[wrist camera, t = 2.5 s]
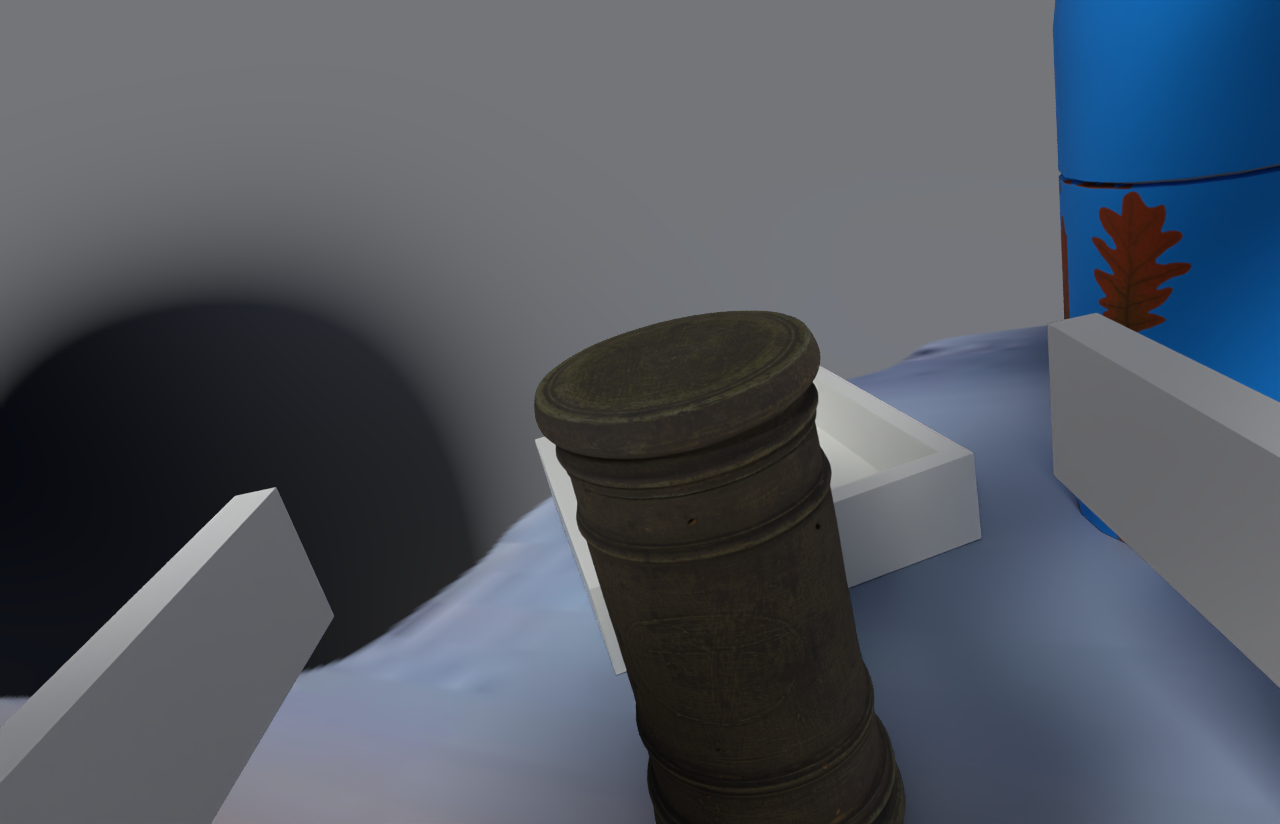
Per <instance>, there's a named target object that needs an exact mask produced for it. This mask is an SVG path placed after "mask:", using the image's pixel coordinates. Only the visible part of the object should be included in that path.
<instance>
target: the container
mask: <svg viewBox="0 0 1280 824" xmlns="http://www.w3.org/2000/svg"><path fill="white" fill-rule="evenodd" d="M819 365H820V350H819V347H818V344H817V342H816V340H815V338H814V337H813V334H812V333H811V332H810V330H809V329H808V328H807V326H806V325H805V324H804V323H803V322H802V321H800V320H799V319H797V318H795V317H792V316H788V315H785V314H781V313H777V312H770V311H728V312H716V313H708V314H701V315H694V316H688V317H683V318H678V319H673V320H669V321H665V322H660V323H656V324H653V325H649V326H646V327H643V328H639V329H636V330H633V331H630V332H627V333H623V334H620V335H618V336H615V337H612V338H610V339H607V340H604V341H602V342H599V343H597V344H595V345H593V346H590V347H588V348H586V349H584V350H583V351H581V352H579V353H577V354H575V355H573V356H572V357H570V358H568V359H567V360H565V361H564V362H562V363H561V364H560V365H558V366H557V367H555V368H554V369H553V370H552V371H550V372H549V373H548V374H547V375H546V376H545V377H544V378H543V380H542V381H541V383H540V384H539V386H538V388H537V390H536V394H535V403H534V406H535V418H536V422H537V424H538V427H539V429H540V430H541V432H542V433H543V435H544V436H545V437H546V438H547V439H548V440H549V441H551V442H552V443H553V444H555V445H556V457H557V459H558V461H559V463H560V464H561V466H562V467H563V468H564V469H565V470H566V472H567V474H568V475H569V477H570V478H571V482H572V486H573V489H574V493H575V496H576V499H577V511H576V521H577V526H578V529H579V531H580V533H581V535H582V536H583V537H584V539H585V540H586V541H587V545H588V548H589V552H590V555H591V558H592V561H593V565H594V568H595V571H596V575H597V578H598V581H599V585H600V588H601V591H602V595H603V598H604V601H605V604H606V607H607V610H608V613H609V617H610V619H611V622H612V626H613V629H614V632H615V635H616V638H617V641H618V645H619V648H620V651H621V655H622V658H623V661H624V664H625V667H626V671H627V674H628V677H629V680H630V683H631V687H632V690H633V693H634V697H635V700H636V722H637V727H638V731H639V735H640V737H641V739H642V742H643V744H644V746H645V747H646V749H647V750H648V754H649V762H648V771H647V783H648V789H649V794H650V797H651V800H652V803H653V806H654V814H655V820H656V824H903V819H904V811H905V794H904V787H903V782H902V778H901V775H900V772H899V769H898V767H897V764H896V762H895V756H894V751H893V748H892V744H891V741H890V738H889V735H888V733H887V731H886V729H885V727H884V725H883V724H882V722H881V720H880V719H879V718H878V716H877V715H876V714H875V712H874V689H873V684H872V681H871V677H870V675H869V672H868V670H867V668H866V666H865V663H864V662H863V660H862V657H861V652H860V648H859V643H858V639H857V634H856V629H855V622H854V617H853V611H852V606H851V600H850V594H849V589H848V583H847V578H846V572H845V567H844V560H843V554H842V548H841V541H840V535H839V530H838V524H837V518H836V513H835V508H834V503H833V497H832V492H831V487H830V483H831V476H832V471H831V466H830V462H829V460H828V458H827V456H826V455H825V453H824V451H823V449H822V448H821V446H820V443H819V437H818V433H817V428H816V423H815V419H816V413H817V410H816V409H817V405H818V391H817V388H816V386H815V384H814V383H813V381H814V379H815V377H816V375H817V373H818V370H819Z"/></svg>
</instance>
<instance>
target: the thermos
mask: <svg viewBox="0 0 1280 824" xmlns="http://www.w3.org/2000/svg"><path fill="white" fill-rule="evenodd" d="M1053 41H1054V42H1053V43H1054V67H1055V93H1056V119H1057V144H1058V169H1059V171H1060V172H1061V175H1060V176H1059V194H1060V220H1061V243H1062V270H1063V295H1064V320H1065V319H1070V318H1075V317H1079V316H1084V315H1089V314H1093V313H1098V314H1100V315H1102V316H1104V317H1106V318H1109V319H1111V320H1113V321H1115V322H1117V323H1119V324H1121V325H1123V326H1125V327H1127V328H1129V329H1131V330H1133V331H1135V332H1137V333H1139V334H1141V335H1143V336H1145V337H1147V338H1149V339H1151V340H1153V341H1155V342H1157V343H1159V344H1162V345H1164V346H1166V347H1168V348H1170V349H1172V350H1174V351H1176V352H1178V353H1180V354H1182V355H1184V356H1186V357H1188V358H1190V359H1192V360H1194V361H1196V362H1198V363H1200V364H1202V365H1204V366H1206V367H1208V368H1210V369H1212V370H1215V371H1217V372H1219V373H1221V374H1223V375H1225V376H1227V377H1229V378H1231V379H1233V380H1235V381H1237V382H1239V383H1241V384H1243V385H1245V386H1247V387H1249V388H1251V389H1253V390H1255V391H1257V392H1259V393H1261V394H1263V395H1265V396H1267V397H1270V398H1272V399H1274V400H1276V401H1278V402H1280V0H1055V11H1054V23H1053ZM1077 501H1078V504H1079V507H1080V510H1081V514H1082V515H1083V516H1085V517H1086V518H1087V519H1088V520H1089V521H1090V522H1091V523H1092V524H1093V525H1095V526H1096V527H1097V528H1098V529H1099V530H1100V531H1101V532H1103V533H1105V534H1107V535H1110V536H1112V537H1114V538H1116V539H1118V540H1120V541H1123V540H1122V539H1121V538H1120V537H1119V536H1118V535H1117V534H1116V533H1115V532H1114V531H1112V530H1111V529H1110V528H1109V527H1108V526H1107V525H1106V524H1105V523H1104V522H1103V521H1102V520H1101V519H1100V518H1099V517H1098V516H1097V515H1095V514H1094V513H1093V512H1092V511H1091V510H1090V509H1089V508H1088V507H1087V506H1086V505H1085V504H1084V503H1083V502H1082V501H1081V500H1080V499H1078V498H1077ZM1123 542H1124V541H1123Z"/></svg>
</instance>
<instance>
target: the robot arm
mask: <svg viewBox="0 0 1280 824" xmlns="http://www.w3.org/2000/svg"><path fill="white" fill-rule="evenodd" d="M1047 327H1048V351H1049V374H1050V398H1051V421H1052V445H1053V468H1054V476H1055V477H1056V478H1057V479H1058V480H1059V481H1060V482H1061V483H1063V484H1064V485H1065V486H1066V487H1067V488H1068V489H1069V490H1070V491H1071V492H1072V493H1073V494H1074V495H1075V496H1076V497H1077V498H1078V499H1080V500H1081V501H1082V502H1083V503H1084V504H1085V505H1086V506H1087V507H1088V508H1089V509H1090V510H1091V511H1092V512H1093V513H1094V514H1095V515H1097V516H1098V517H1099V518H1100V519H1101V520H1102V521H1103V522H1104V523H1105V524H1106V525H1107V526H1108V527H1109V528H1110V529H1111V530H1112V531H1114V532H1115V533H1116V534H1117V535H1118V536H1119V537H1120V538H1121V539H1122V540H1123V541H1124V542H1125V543H1126V544H1127V545H1128V546H1129V547H1131V548H1132V549H1133V550H1134V551H1135V552H1136V553H1137V554H1138V555H1139V556H1140V557H1141V558H1142V559H1143V560H1144V561H1145V562H1146V563H1148V564H1149V565H1150V566H1151V567H1152V568H1153V569H1154V570H1155V571H1156V572H1157V573H1158V574H1159V575H1160V576H1161V577H1162V578H1164V579H1165V580H1166V581H1167V582H1168V583H1169V584H1170V585H1171V586H1172V587H1173V588H1174V589H1175V590H1176V591H1177V592H1178V593H1179V594H1181V595H1182V596H1183V597H1184V598H1185V599H1186V600H1187V601H1188V602H1189V603H1190V604H1191V605H1192V606H1193V607H1194V608H1195V609H1196V610H1198V611H1199V612H1200V613H1201V614H1202V615H1203V616H1204V617H1205V618H1206V619H1207V620H1208V621H1209V622H1210V623H1211V624H1212V625H1213V626H1215V627H1216V628H1217V629H1218V630H1219V631H1220V632H1221V633H1222V634H1223V635H1224V636H1225V637H1226V638H1227V639H1228V640H1229V641H1230V642H1232V643H1233V644H1234V645H1235V646H1236V647H1237V648H1238V649H1239V650H1240V651H1241V652H1242V653H1243V654H1244V655H1245V656H1246V657H1247V658H1249V659H1250V660H1251V661H1252V662H1253V663H1254V664H1255V665H1256V666H1257V667H1258V668H1259V669H1260V670H1261V671H1262V672H1263V673H1264V674H1266V675H1267V676H1268V677H1269V678H1270V679H1271V680H1272V681H1273V682H1274V683H1275V684H1276V685H1277V686H1278V687H1279V688H1280V402H1278V401H1276V400H1274V399H1272V398H1270V397H1267V396H1265V395H1263V394H1261V393H1259V392H1257V391H1255V390H1253V389H1251V388H1249V387H1247V386H1245V385H1243V384H1241V383H1239V382H1237V381H1235V380H1233V379H1231V378H1229V377H1227V376H1225V375H1223V374H1221V373H1219V372H1217V371H1215V370H1212V369H1210V368H1208V367H1206V366H1204V365H1202V364H1200V363H1198V362H1196V361H1194V360H1192V359H1190V358H1188V357H1186V356H1184V355H1182V354H1180V353H1178V352H1176V351H1174V350H1172V349H1170V348H1168V347H1166V346H1164V345H1162V344H1159V343H1157V342H1155V341H1153V340H1151V339H1149V338H1147V337H1145V336H1143V335H1141V334H1139V333H1137V332H1135V331H1133V330H1131V329H1129V328H1127V327H1125V326H1123V325H1121V324H1119V323H1117V322H1115V321H1113V320H1111V319H1109V318H1106V317H1104V316H1102V315H1100V314H1098V313H1093V314H1089V315H1084V316H1079V317H1075V318H1070V319H1065V320H1060V321H1056V322H1051V323H1048V324H1047ZM333 617H334V615H333V613H332V611H331V608H330V606H329V604H328V602H327V599H326V597H325V595H324V593H323V591H322V588H321V586H320V584H319V582H318V579H317V577H316V575H315V573H314V570H313V568H312V566H311V564H310V562H309V559H308V557H307V555H306V553H305V550H304V548H303V546H302V544H301V542H300V539H299V537H298V535H297V533H296V531H295V528H294V526H293V524H292V522H291V519H290V517H289V515H288V513H287V510H286V508H285V506H284V504H283V502H282V500H281V497H280V495H279V493H278V491H277V488H271V489H266V490H262V491H257V492H252V493H247V494H243V495H238V496H235V497H234V498H233V499H232V500H231V501H230V502H229V503H228V504H227V505H226V506H225V507H224V508H223V509H222V510H221V511H220V512H219V513H218V514H216V515H215V516H214V517H213V519H211V520H210V521H209V522H208V523H207V524H206V525H205V526H204V527H203V528H202V529H201V530H200V531H199V532H198V533H197V534H196V535H195V536H194V538H192V539H191V540H190V541H189V542H188V543H187V544H186V545H185V546H184V547H183V548H182V549H181V550H180V551H179V552H178V553H177V554H176V555H175V556H174V557H173V558H172V559H171V560H170V561H169V562H168V563H167V564H166V565H165V566H164V567H163V568H162V569H161V570H160V571H159V572H158V573H157V574H156V575H155V576H154V577H153V578H152V579H151V580H150V581H149V582H148V583H147V584H146V585H144V586H143V588H141V590H139V591H138V592H137V593H136V594H135V595H134V596H133V597H132V598H131V599H130V600H129V601H128V602H127V603H126V604H125V605H124V606H123V607H122V608H121V609H120V610H119V611H118V612H117V613H116V614H115V615H114V616H113V617H112V618H111V619H110V620H109V621H108V622H107V623H106V624H105V625H104V626H103V627H102V628H101V629H100V630H99V631H98V632H97V633H96V634H95V635H94V636H93V637H92V638H91V639H90V640H89V641H88V642H87V643H86V644H85V645H84V646H83V647H82V648H81V649H80V650H79V651H78V652H77V653H76V654H75V655H73V656H72V657H71V658H70V660H68V661H67V662H66V663H65V664H64V665H63V666H62V667H61V668H60V669H59V670H58V671H57V672H56V673H55V674H54V675H53V676H52V677H51V678H50V679H49V680H48V681H47V682H46V683H45V684H44V685H43V686H42V687H41V688H40V689H39V690H38V691H37V692H36V693H35V694H34V695H33V696H32V697H31V698H30V699H29V700H28V701H27V702H26V703H25V704H24V705H23V706H22V707H21V708H20V709H19V710H18V711H17V712H16V713H15V714H14V715H13V716H12V717H11V718H10V719H9V720H8V721H7V722H5V723H4V724H3V725H2V726H1V727H0V824H211V823H212V821H213V819H214V818H215V816H216V814H217V812H218V811H219V809H220V807H221V806H222V804H223V802H224V801H225V799H226V797H227V796H228V794H229V792H230V791H231V789H232V787H233V786H234V784H235V782H236V780H237V779H238V777H239V775H240V774H241V772H242V770H243V769H244V767H245V765H246V764H247V762H248V760H249V759H250V757H251V755H252V754H253V752H254V750H255V748H256V747H257V745H258V743H259V742H260V740H261V738H262V737H263V735H264V733H265V732H266V730H267V728H268V727H269V725H270V723H271V722H272V720H273V718H274V716H275V715H276V713H277V711H278V710H279V708H280V706H281V705H282V703H283V701H284V700H285V698H286V696H287V695H288V693H289V691H290V690H291V688H292V686H293V684H294V683H295V681H296V679H297V678H298V676H299V674H300V673H301V671H302V669H303V668H304V666H305V664H306V663H307V661H308V659H309V657H310V656H311V654H312V652H313V651H314V649H315V647H316V646H317V644H318V642H319V641H320V639H321V637H322V636H323V634H324V632H325V631H326V629H327V627H328V626H329V624H330V622H331V620H332V619H333Z"/></svg>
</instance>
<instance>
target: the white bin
mask: <svg viewBox="0 0 1280 824" xmlns="http://www.w3.org/2000/svg"><path fill="white" fill-rule="evenodd" d="M813 383H814V384H815V386H816V388H817V391H818V405H817V409H816V410H817V413H816V419H815V423H816V428H817V433H818V437H819V443H820V446H821V448H822V449H823V451H824V453H825V455H826V456H827V458H828V460H829V462H830V466H831V471H832V476H831V483H830V487H831V492H832V497H833V503H834V508H835V513H836V518H837V524H838V530H839V535H840V541H841V548H842V554H843V560H844V567H845V572H846V578H847V583H848V588H850V587H853V586H855V585H858V584H861V583H863V582H866V581H869V580H871V579H874V578H877V577H879V576H882V575H885V574H887V573H890V572H893V571H895V570H898V569H901V568H903V567H906V566H909V565H911V564H914V563H917V562H919V561H922V560H925V559H927V558H930V557H933V556H935V555H938V554H941V553H943V552H946V551H949V550H951V549H954V548H957V547H959V546H962V545H965V544H967V543H970V542H973V541H975V540H978V539H981V526H980V515H979V504H978V493H977V482H976V471H975V460H974V453H973V452H971V451H969V450H968V449H966V448H964V447H962V446H961V445H959V444H957V443H955V442H954V441H952V440H950V439H948V438H947V437H945V436H943V435H941V434H939V433H938V432H936V431H934V430H932V429H931V428H929V427H927V426H925V425H924V424H922V423H920V422H918V421H916V420H915V419H913V418H911V417H909V416H908V415H906V414H904V413H902V412H901V411H899V410H897V409H895V408H894V407H892V406H890V405H888V404H886V403H885V402H883V401H881V400H879V399H878V398H876V397H874V396H872V395H871V394H869V393H867V392H865V391H864V390H862V389H860V388H858V387H856V386H855V385H853V384H851V383H849V382H848V381H846V380H844V379H842V378H841V377H839V376H837V375H835V374H834V373H832V372H830V371H828V370H826V369H825V368H823V367H821V366H819V370H818V373H817V375H816V377H815V379H814V381H813ZM535 442H536V445H537V448H538V451H539V455H540V457H541V461H542V464H543V467H544V470H545V474H546V477H547V480H548V483H549V486H550V489H551V492H552V496H553V499H554V502H555V505H556V508H557V510H558V513H559V516H560V519H561V522H562V524H563V527H564V530H565V533H566V536H567V538H568V541H569V544H570V547H571V550H572V552H573V555H574V558H575V561H576V564H577V566H578V569H579V572H580V575H581V578H582V580H583V583H584V586H585V589H586V592H587V594H588V597H589V600H590V603H591V606H592V608H593V611H594V614H595V617H596V620H597V622H598V625H599V628H600V631H601V634H602V636H603V639H604V642H605V645H606V648H607V650H608V653H609V656H610V659H611V662H612V664H613V667H614V670H615V673H616V675H618V674H621V673H623V672H626V667H625V664H624V661H623V658H622V655H621V651H620V648H619V645H618V641H617V638H616V635H615V632H614V629H613V626H612V622H611V619H610V617H609V613H608V610H607V607H606V604H605V601H604V598H603V595H602V591H601V588H600V585H599V581H598V578H597V575H596V571H595V568H594V565H593V561H592V558H591V555H590V552H589V548H588V545H587V541H586V540H585V539H584V537H583V536H582V535H581V533H580V531H579V529H578V526H577V521H576V511H577V499H576V496H575V493H574V489H573V486H572V482H571V478H570V477H569V475H568V474H567V472H566V470H565V469H564V468H563V467H562V466H561V464H560V463H559V461H558V459H557V457H556V445H555V444H553V443H552V442H551V441H549V440H548V439H547V438H546V437H542V438H539V439H536V440H535Z"/></svg>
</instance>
